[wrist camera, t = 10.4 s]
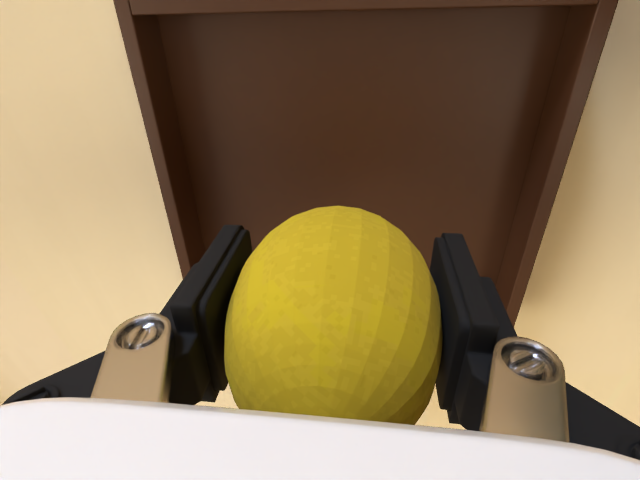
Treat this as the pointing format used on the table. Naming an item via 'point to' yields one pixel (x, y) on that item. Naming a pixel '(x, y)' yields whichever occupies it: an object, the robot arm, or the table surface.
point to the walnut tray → (366, 115)
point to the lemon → (335, 321)
